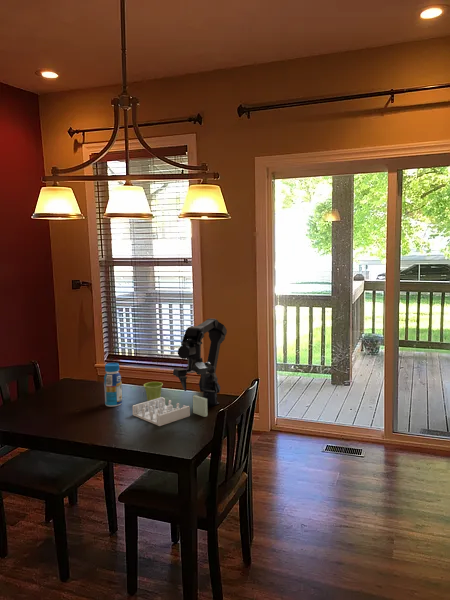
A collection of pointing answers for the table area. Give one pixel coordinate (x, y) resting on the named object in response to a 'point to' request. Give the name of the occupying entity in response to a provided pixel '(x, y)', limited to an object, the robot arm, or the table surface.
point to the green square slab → (200, 406)
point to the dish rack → (160, 411)
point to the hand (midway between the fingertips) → (194, 389)
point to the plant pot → (153, 390)
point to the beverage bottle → (112, 385)
